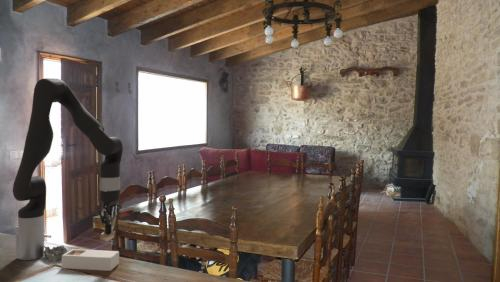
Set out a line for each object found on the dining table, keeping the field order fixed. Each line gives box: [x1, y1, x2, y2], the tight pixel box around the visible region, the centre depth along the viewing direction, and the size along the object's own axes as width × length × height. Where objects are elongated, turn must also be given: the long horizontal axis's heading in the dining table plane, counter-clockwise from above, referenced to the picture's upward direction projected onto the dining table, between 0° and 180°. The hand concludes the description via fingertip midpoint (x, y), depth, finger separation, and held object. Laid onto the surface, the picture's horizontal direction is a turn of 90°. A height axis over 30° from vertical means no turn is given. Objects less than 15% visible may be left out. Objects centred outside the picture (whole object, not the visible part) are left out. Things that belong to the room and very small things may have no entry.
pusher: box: [99, 217, 117, 243], centre depth 148 cm, size 3×6×8 cm, turn 175°
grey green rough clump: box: [43, 245, 68, 262], centre depth 158 cm, size 11×8×4 cm
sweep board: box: [61, 248, 120, 272], centre depth 149 cm, size 20×8×5 cm, turn 85°
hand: (110, 232), depth 148 cm, fingers closed on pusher, 2 cm apart
